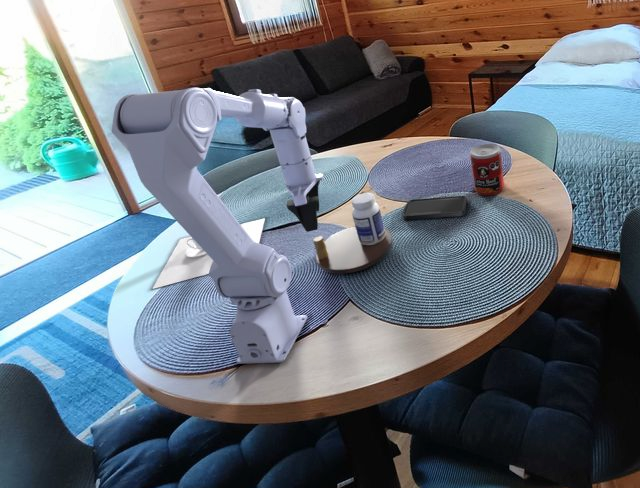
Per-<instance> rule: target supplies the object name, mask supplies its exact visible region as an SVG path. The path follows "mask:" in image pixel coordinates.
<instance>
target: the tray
mask: <svg viewBox="0 0 640 488" xmlns="http://www.w3.org/2000/svg"><path fill="white" fill-rule="evenodd" d="M384 229H385V237H384V239H383V240H382V241H381V242H379V243H377V244H374V245H363V244H361V243H360V241H359V238H358V234H357V231H356V227H355V225H354V226H351V227H347V228H344V229H342V230H339V231H338V232H336V233H333V234H332V235H330V236H329V237H327V238H326V239H325V238H324V236H323V235H317V236H315V237H314V238H313V239H312V242H313V245H314V249H315V251H316V252H315V260H316V261H315V262H316V265H317V266H318V267H319V268H320V269H321V270H323V271H324V272H326V273H330V274H335V275H343V274H351V273H356V272H359V271H363V270H365V269H368V268H370V267H372V266H374V265H375V264H377V263H379V262H380V261H382V260H383V259H384V258H385V257H386V256H387V255H389V252H390V251H391V249H392V247H393V243H394V241H393V235H392V233H391V231H390V230H389V229H387V227H384Z"/></svg>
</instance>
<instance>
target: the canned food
mask: <svg viewBox="0 0 640 488" xmlns="http://www.w3.org/2000/svg"><path fill="white" fill-rule="evenodd" d="M501 152H502V151H501V147H500V146H499V145H497V144H493V143H484V144H479V145H476V146H474V147H472V148H471V149H470V151H469V157H470V165H471V171H472V172H471V173H472V179H473V186H474V191H475V192H476V193H477V194H478V195H481V196H493V195H497V194H499V193H500V192H502V191H503V190H504V187H505V179H504V171H503V169H504V168H503V160H502V153H501Z"/></svg>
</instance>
